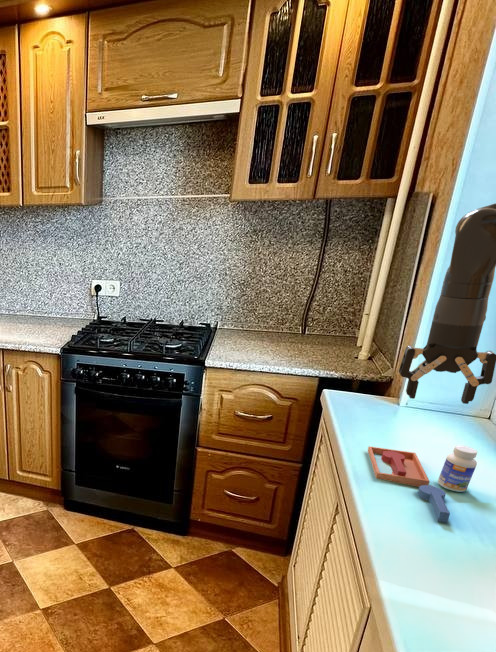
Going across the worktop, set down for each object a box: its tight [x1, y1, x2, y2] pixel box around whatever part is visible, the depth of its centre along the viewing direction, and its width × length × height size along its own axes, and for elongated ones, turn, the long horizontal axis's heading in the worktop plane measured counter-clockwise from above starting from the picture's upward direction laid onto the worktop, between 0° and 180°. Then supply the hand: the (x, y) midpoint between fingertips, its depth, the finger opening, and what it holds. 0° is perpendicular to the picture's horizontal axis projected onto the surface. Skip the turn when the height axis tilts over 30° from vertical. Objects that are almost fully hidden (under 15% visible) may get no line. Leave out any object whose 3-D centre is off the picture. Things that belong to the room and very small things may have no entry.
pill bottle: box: [437, 445, 478, 493], centre depth 121 cm, size 5×5×10 cm
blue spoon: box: [417, 484, 451, 524], centre depth 114 cm, size 13×5×2 cm, turn 154°
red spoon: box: [380, 451, 406, 476], centre depth 130 cm, size 13×5×2 cm, turn 154°
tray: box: [367, 445, 430, 488], centre depth 130 cm, size 16×10×2 cm, turn 154°
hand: (437, 399), depth 105 cm, fingers open, 8 cm apart
